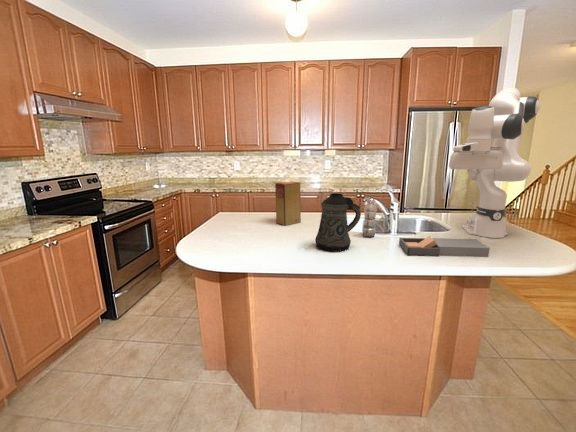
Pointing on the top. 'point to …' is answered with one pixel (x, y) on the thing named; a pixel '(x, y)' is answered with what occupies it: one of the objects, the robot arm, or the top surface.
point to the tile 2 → (427, 243)
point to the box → (417, 248)
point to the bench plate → (461, 247)
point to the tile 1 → (412, 244)
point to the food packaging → (288, 203)
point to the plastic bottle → (370, 218)
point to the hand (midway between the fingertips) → (473, 180)
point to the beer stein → (336, 223)
